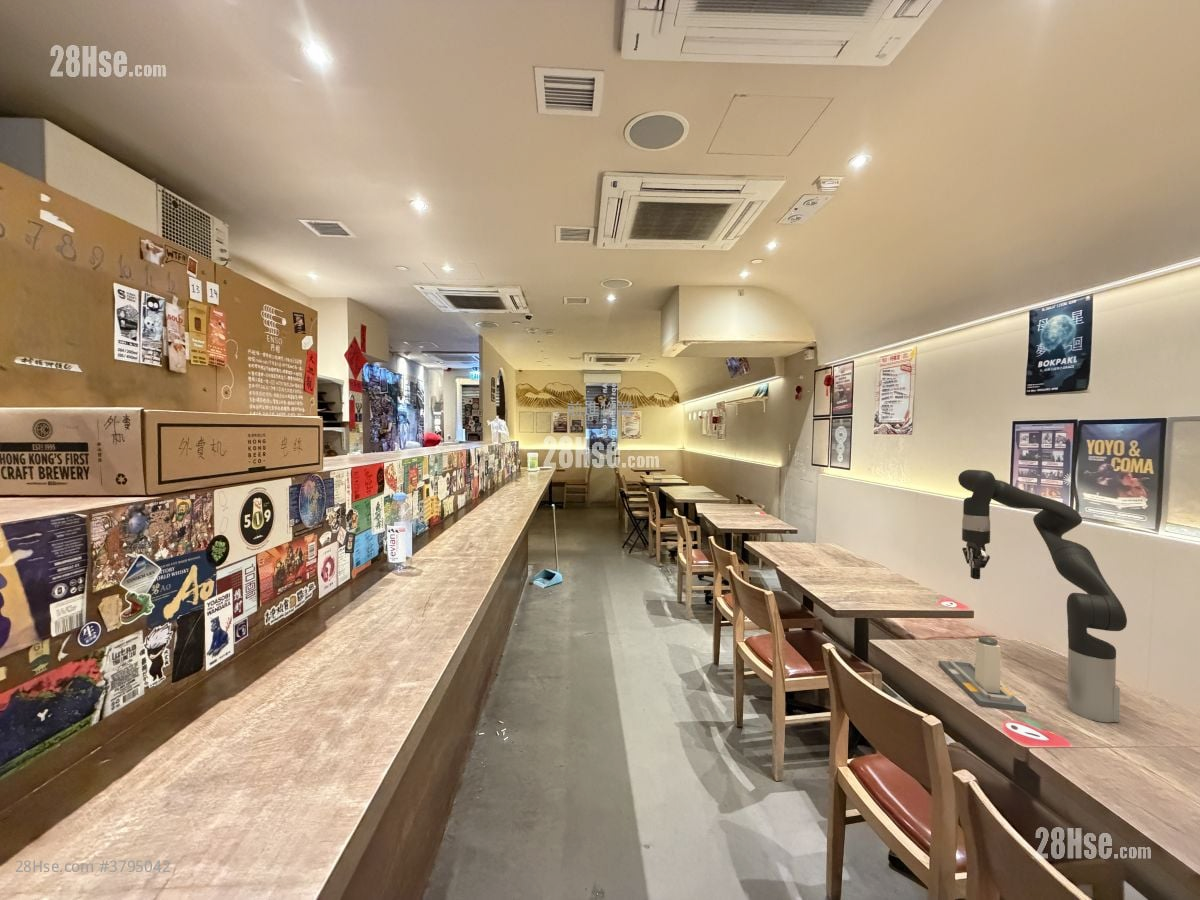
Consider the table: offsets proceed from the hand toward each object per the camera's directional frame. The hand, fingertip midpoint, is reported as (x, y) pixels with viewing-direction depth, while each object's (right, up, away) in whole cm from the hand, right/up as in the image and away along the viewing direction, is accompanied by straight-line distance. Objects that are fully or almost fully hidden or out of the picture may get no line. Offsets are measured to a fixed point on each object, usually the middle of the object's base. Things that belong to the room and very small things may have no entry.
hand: (975, 578), depth 161 cm
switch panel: (-11, -29, -15) cm, 35 cm away
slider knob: (-13, -27, -20) cm, 36 cm away
